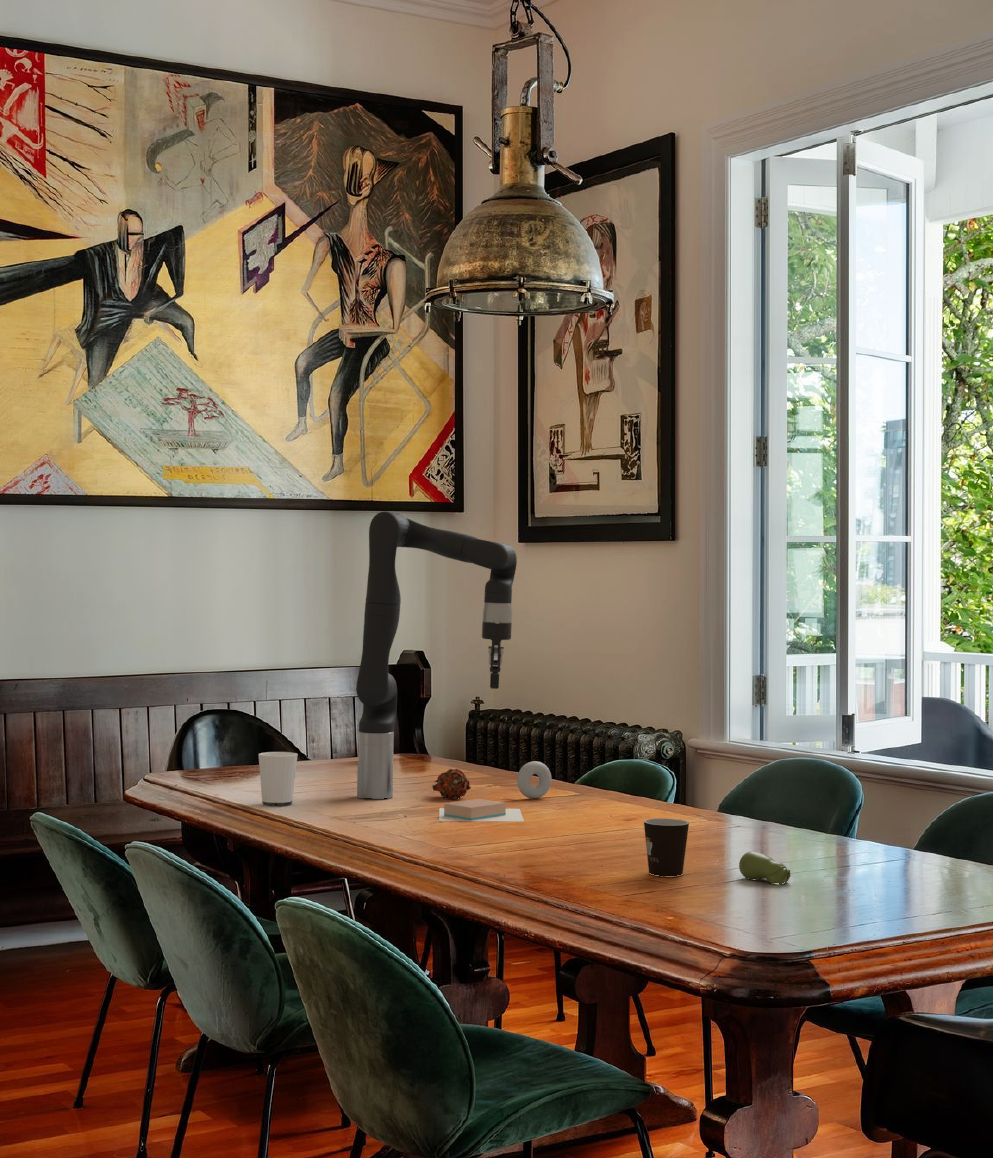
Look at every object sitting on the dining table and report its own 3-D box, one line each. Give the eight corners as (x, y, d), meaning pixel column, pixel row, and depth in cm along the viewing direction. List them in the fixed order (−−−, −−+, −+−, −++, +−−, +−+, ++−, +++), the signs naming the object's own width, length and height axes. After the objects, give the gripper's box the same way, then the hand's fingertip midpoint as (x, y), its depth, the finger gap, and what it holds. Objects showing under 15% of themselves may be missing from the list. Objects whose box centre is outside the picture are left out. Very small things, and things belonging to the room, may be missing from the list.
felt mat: (439, 822, 320) (439, 820, 320) (439, 809, 339) (439, 807, 340) (524, 822, 320) (524, 821, 320) (519, 810, 340) (519, 808, 340)
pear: (751, 846, 261) (797, 861, 255) (746, 873, 262) (792, 889, 255) (736, 849, 257) (783, 865, 251) (731, 876, 258) (778, 893, 251)
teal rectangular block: (478, 798, 335) (444, 803, 327) (505, 802, 329) (471, 807, 321) (478, 810, 335) (444, 815, 327) (505, 815, 329) (471, 820, 320)
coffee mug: (687, 879, 256) (688, 826, 256) (641, 877, 258) (642, 824, 258) (689, 868, 268) (690, 817, 268) (645, 865, 269) (646, 815, 269)
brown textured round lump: (463, 807, 354) (438, 808, 364) (483, 786, 359) (458, 787, 368) (445, 782, 352) (420, 783, 362) (466, 761, 357) (441, 763, 366)
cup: (293, 807, 340) (294, 756, 340) (254, 806, 339) (255, 755, 340) (299, 801, 349) (300, 752, 350) (261, 801, 349) (261, 751, 350)
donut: (547, 797, 365) (548, 759, 365) (553, 798, 362) (554, 761, 362) (514, 798, 360) (514, 761, 360) (520, 800, 357) (520, 762, 357)
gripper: (482, 619, 356) (479, 686, 356) (482, 620, 343) (479, 689, 342) (511, 621, 356) (508, 687, 356) (512, 621, 343) (509, 690, 342)
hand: (494, 688), depth 349 cm, fingers closed
